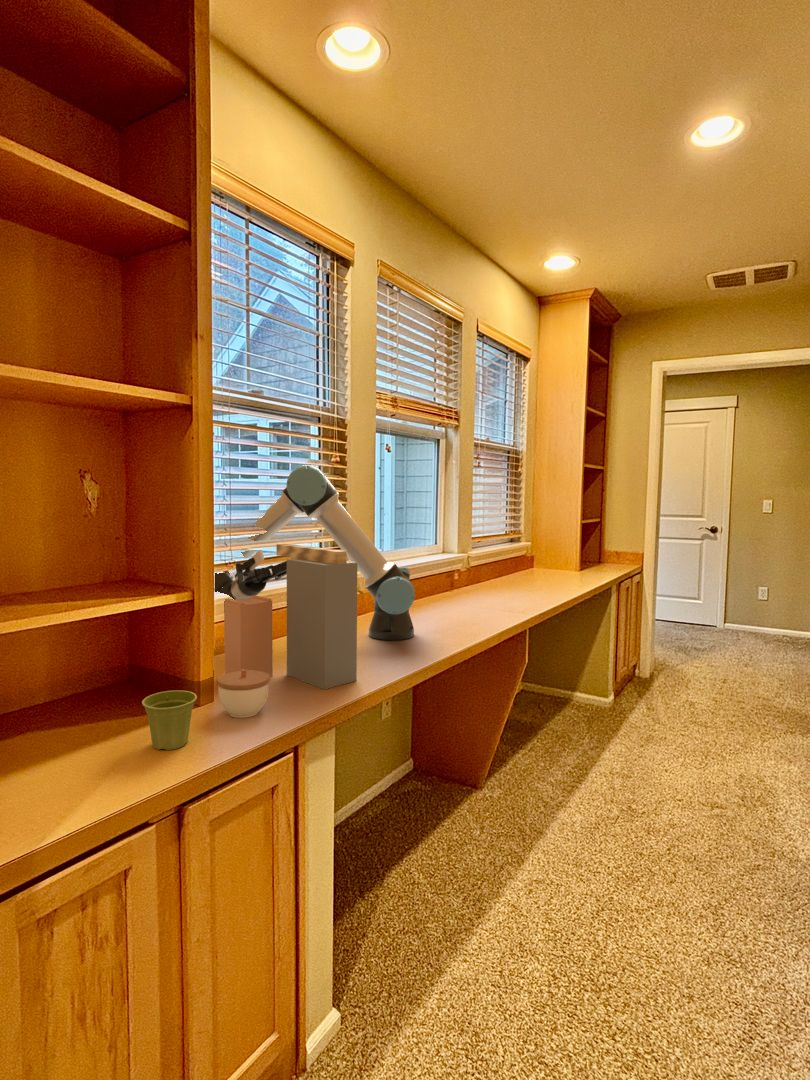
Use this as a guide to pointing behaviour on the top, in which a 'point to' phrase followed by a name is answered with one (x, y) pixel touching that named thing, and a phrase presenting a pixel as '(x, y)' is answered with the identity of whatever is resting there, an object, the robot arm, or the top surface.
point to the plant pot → (169, 717)
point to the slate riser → (322, 622)
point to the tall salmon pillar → (248, 634)
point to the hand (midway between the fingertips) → (284, 553)
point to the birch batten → (312, 553)
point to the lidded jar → (243, 692)
